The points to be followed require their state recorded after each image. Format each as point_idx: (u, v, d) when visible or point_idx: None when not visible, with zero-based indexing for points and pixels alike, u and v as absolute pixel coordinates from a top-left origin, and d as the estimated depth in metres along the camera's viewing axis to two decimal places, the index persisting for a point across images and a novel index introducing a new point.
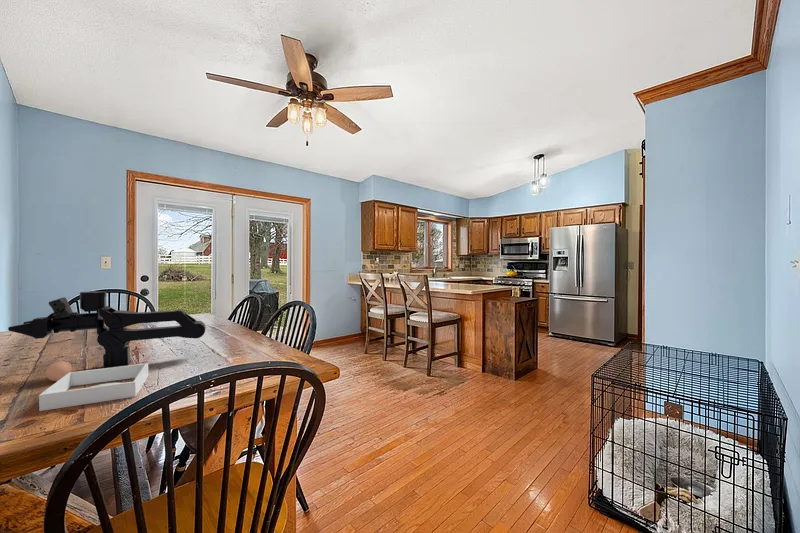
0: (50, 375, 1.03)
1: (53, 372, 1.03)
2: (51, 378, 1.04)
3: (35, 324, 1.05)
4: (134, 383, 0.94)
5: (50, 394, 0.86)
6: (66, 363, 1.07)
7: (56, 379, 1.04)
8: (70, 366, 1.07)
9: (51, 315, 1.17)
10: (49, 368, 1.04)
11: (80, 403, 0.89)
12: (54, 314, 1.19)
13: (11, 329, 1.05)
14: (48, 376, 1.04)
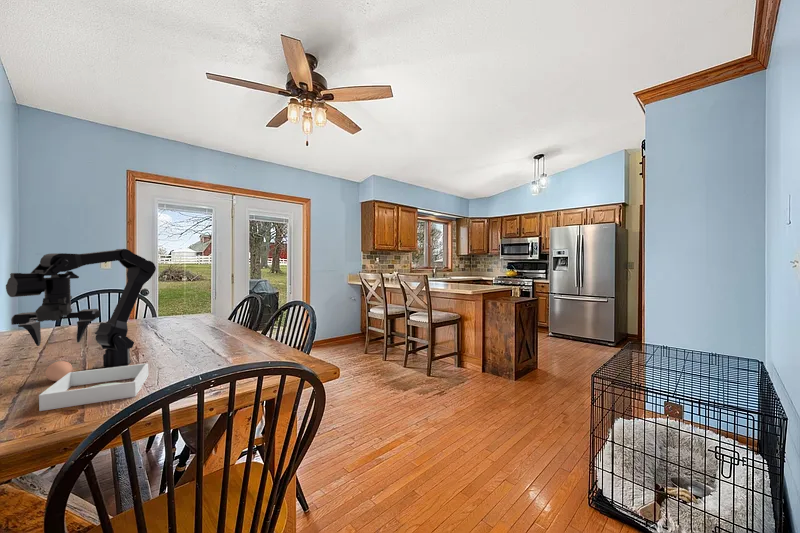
0: (50, 375, 1.03)
1: (53, 372, 1.03)
2: (51, 378, 1.04)
3: (95, 317, 1.09)
4: (134, 383, 0.94)
5: (50, 394, 0.86)
6: (66, 363, 1.07)
7: (56, 379, 1.04)
8: (70, 366, 1.07)
9: (32, 325, 1.02)
10: (49, 368, 1.04)
11: (80, 403, 0.89)
12: (24, 324, 1.01)
13: (80, 339, 1.09)
14: (48, 376, 1.04)
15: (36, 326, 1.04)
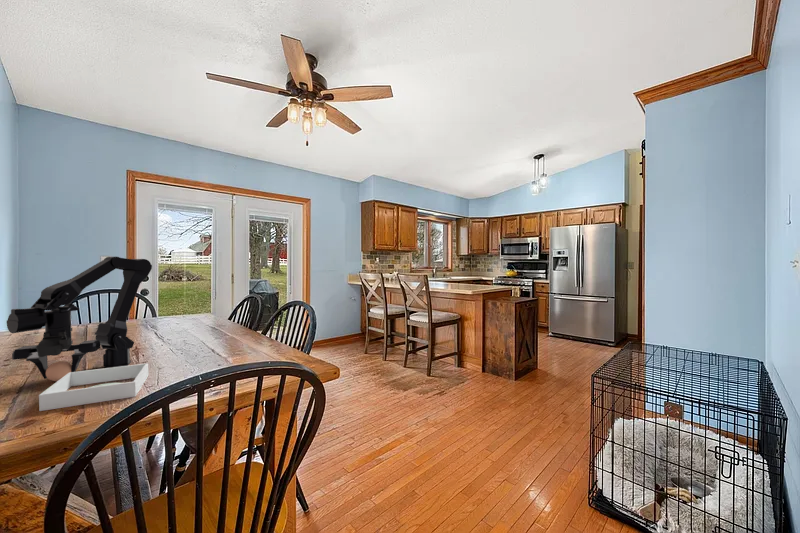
0: (50, 375, 1.03)
1: (53, 372, 1.03)
2: (51, 378, 1.04)
3: (96, 349, 1.09)
4: (134, 383, 0.94)
5: (50, 394, 0.86)
6: (66, 363, 1.07)
7: (56, 379, 1.04)
8: (70, 366, 1.07)
9: (39, 358, 1.03)
10: (49, 368, 1.04)
11: (80, 403, 0.89)
12: (32, 358, 1.02)
13: None
14: (48, 376, 1.04)
15: (43, 359, 1.04)
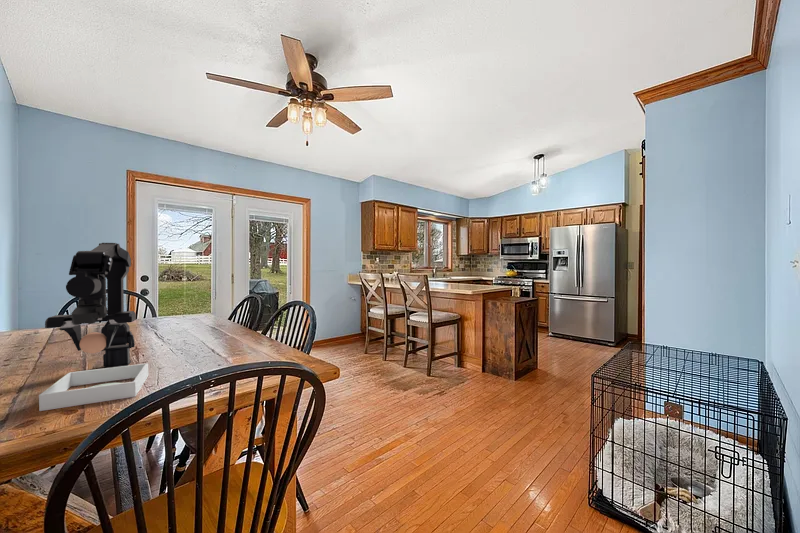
0: (84, 346, 0.95)
1: (87, 343, 0.95)
2: (85, 350, 0.96)
3: (132, 320, 1.01)
4: (134, 383, 0.94)
5: (50, 394, 0.86)
6: (101, 334, 0.98)
7: (90, 350, 0.96)
8: (105, 338, 0.99)
9: (73, 328, 0.95)
10: (83, 339, 0.96)
11: (80, 403, 0.89)
12: (65, 327, 0.94)
13: (109, 344, 1.00)
14: (82, 347, 0.95)
15: (77, 330, 0.97)
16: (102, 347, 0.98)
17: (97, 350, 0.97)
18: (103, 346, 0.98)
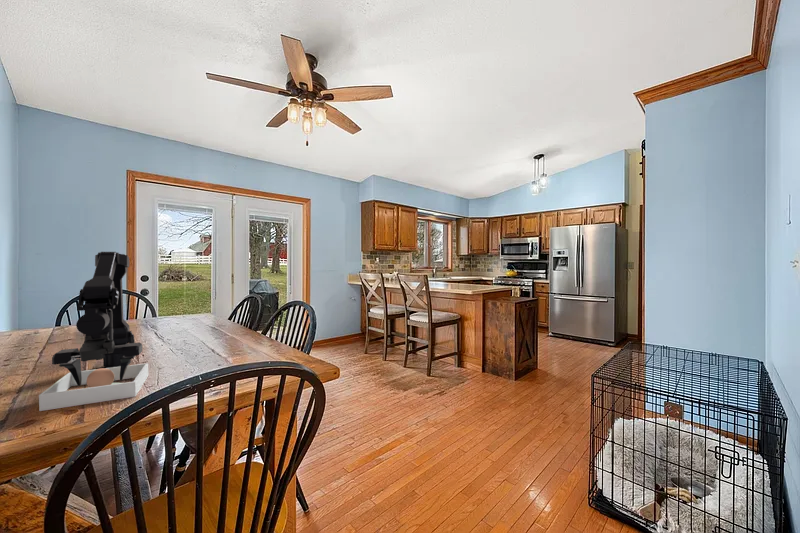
0: (91, 383, 0.95)
1: (95, 381, 0.95)
2: None
3: (139, 352, 1.01)
4: (134, 383, 0.94)
5: (50, 394, 0.86)
6: (108, 371, 0.98)
7: None
8: (112, 374, 0.99)
9: (73, 364, 0.93)
10: (90, 376, 0.95)
11: (80, 403, 0.89)
12: (65, 364, 0.93)
13: (123, 376, 1.00)
14: (89, 385, 0.95)
15: (77, 365, 0.95)
16: (109, 383, 0.98)
17: None
18: (110, 382, 0.98)
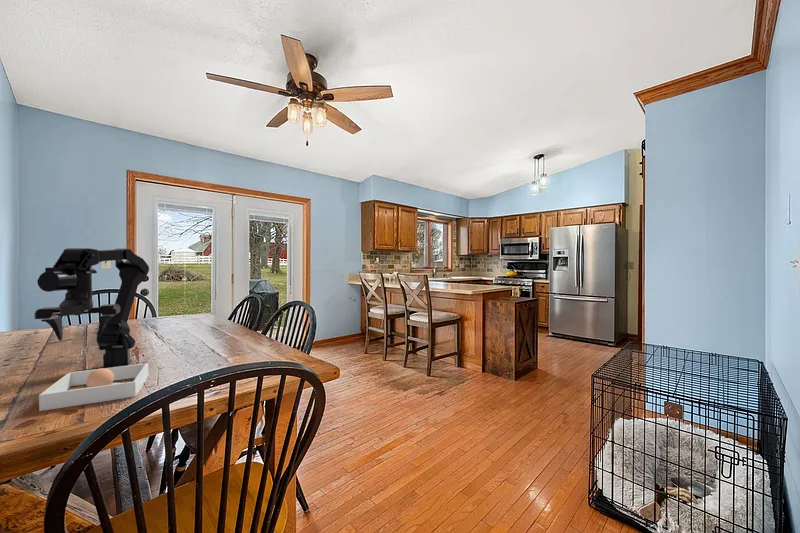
0: (91, 384, 0.95)
1: (94, 381, 0.95)
2: None
3: (117, 312, 1.09)
4: (134, 383, 0.94)
5: (50, 394, 0.86)
6: (107, 370, 0.98)
7: None
8: (111, 374, 0.99)
9: (54, 319, 1.02)
10: (90, 376, 0.95)
11: (80, 403, 0.89)
12: (47, 319, 1.01)
13: (101, 334, 1.09)
14: (89, 385, 0.95)
15: (58, 321, 1.04)
16: (109, 383, 0.98)
17: None
18: (110, 382, 0.98)
